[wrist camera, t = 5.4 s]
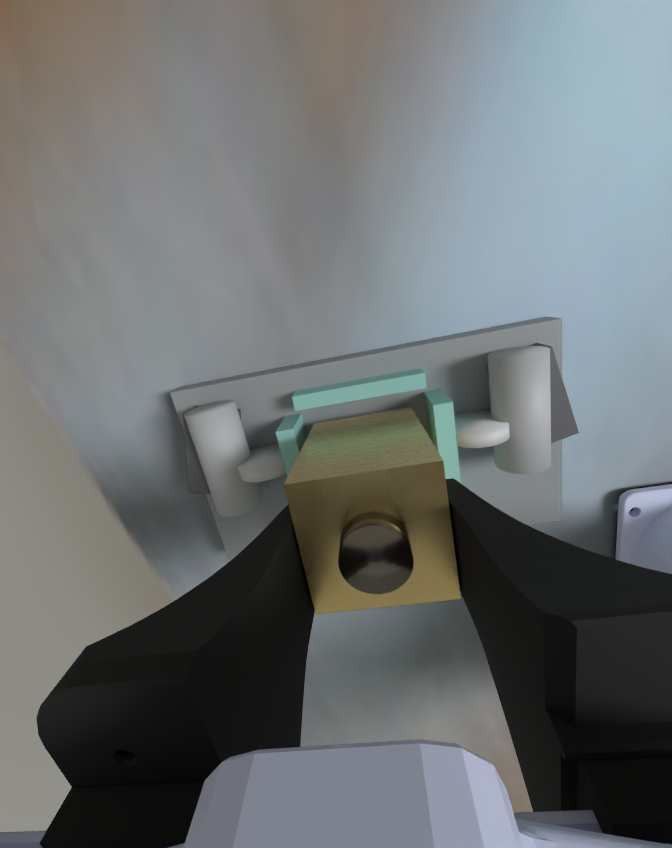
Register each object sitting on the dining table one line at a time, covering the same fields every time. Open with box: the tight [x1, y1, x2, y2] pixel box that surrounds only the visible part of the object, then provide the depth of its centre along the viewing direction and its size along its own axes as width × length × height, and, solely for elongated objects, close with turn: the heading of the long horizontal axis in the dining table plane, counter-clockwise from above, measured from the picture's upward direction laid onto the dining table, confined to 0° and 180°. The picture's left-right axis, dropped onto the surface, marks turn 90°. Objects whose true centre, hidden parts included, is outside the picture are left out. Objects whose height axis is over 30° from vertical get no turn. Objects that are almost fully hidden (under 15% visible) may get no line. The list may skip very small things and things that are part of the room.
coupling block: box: [284, 407, 461, 614], centre depth 12 cm, size 4×4×7 cm
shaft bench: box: [170, 317, 579, 562], centre depth 15 cm, size 9×16×4 cm, turn 101°
